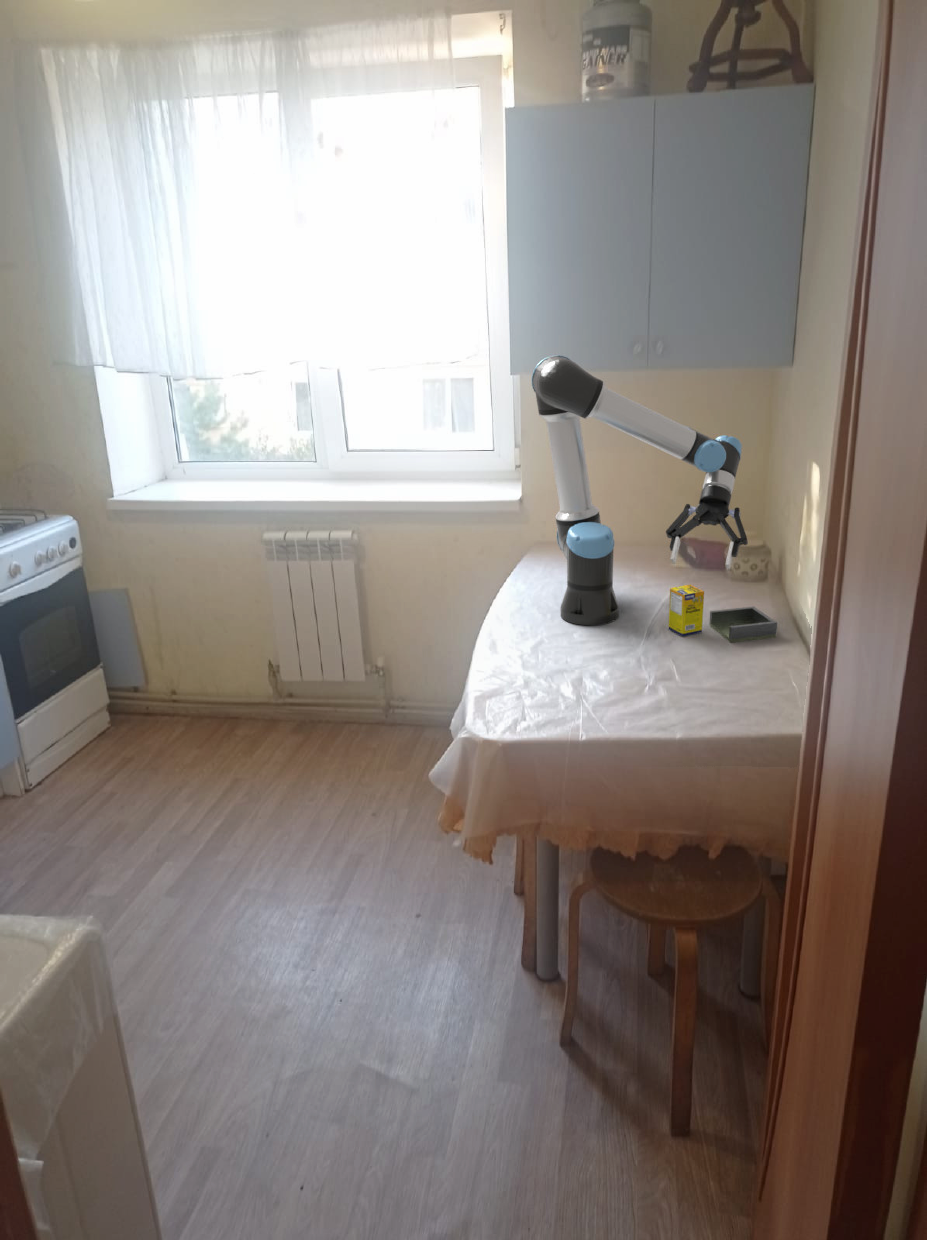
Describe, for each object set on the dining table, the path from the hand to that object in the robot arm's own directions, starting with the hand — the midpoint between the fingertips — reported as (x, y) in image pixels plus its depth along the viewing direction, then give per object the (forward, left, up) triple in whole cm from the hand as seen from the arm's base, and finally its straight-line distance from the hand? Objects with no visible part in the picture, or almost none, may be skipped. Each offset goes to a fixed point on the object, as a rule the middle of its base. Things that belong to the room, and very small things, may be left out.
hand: (699, 564), depth 220 cm
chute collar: (+12, +6, -14) cm, 20 cm away
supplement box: (+8, -7, -14) cm, 18 cm away
